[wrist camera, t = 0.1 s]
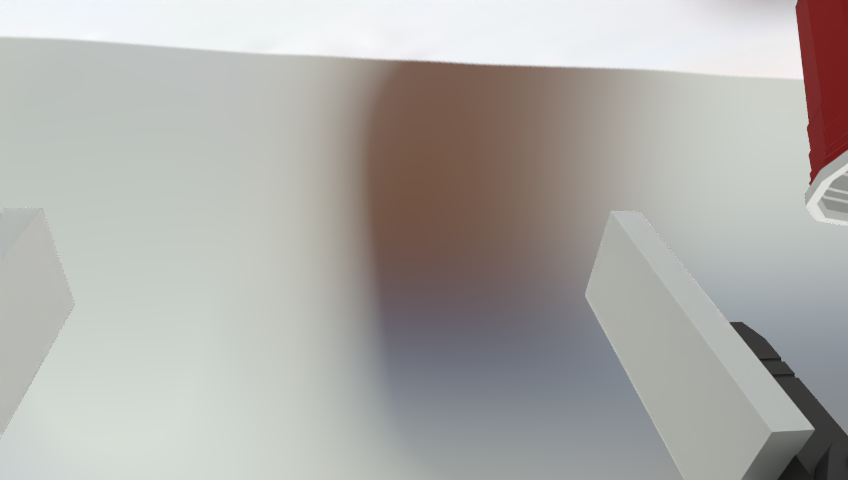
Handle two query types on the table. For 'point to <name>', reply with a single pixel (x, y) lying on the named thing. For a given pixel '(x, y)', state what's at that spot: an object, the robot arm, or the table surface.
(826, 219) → the plastic cup
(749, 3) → the table surface
